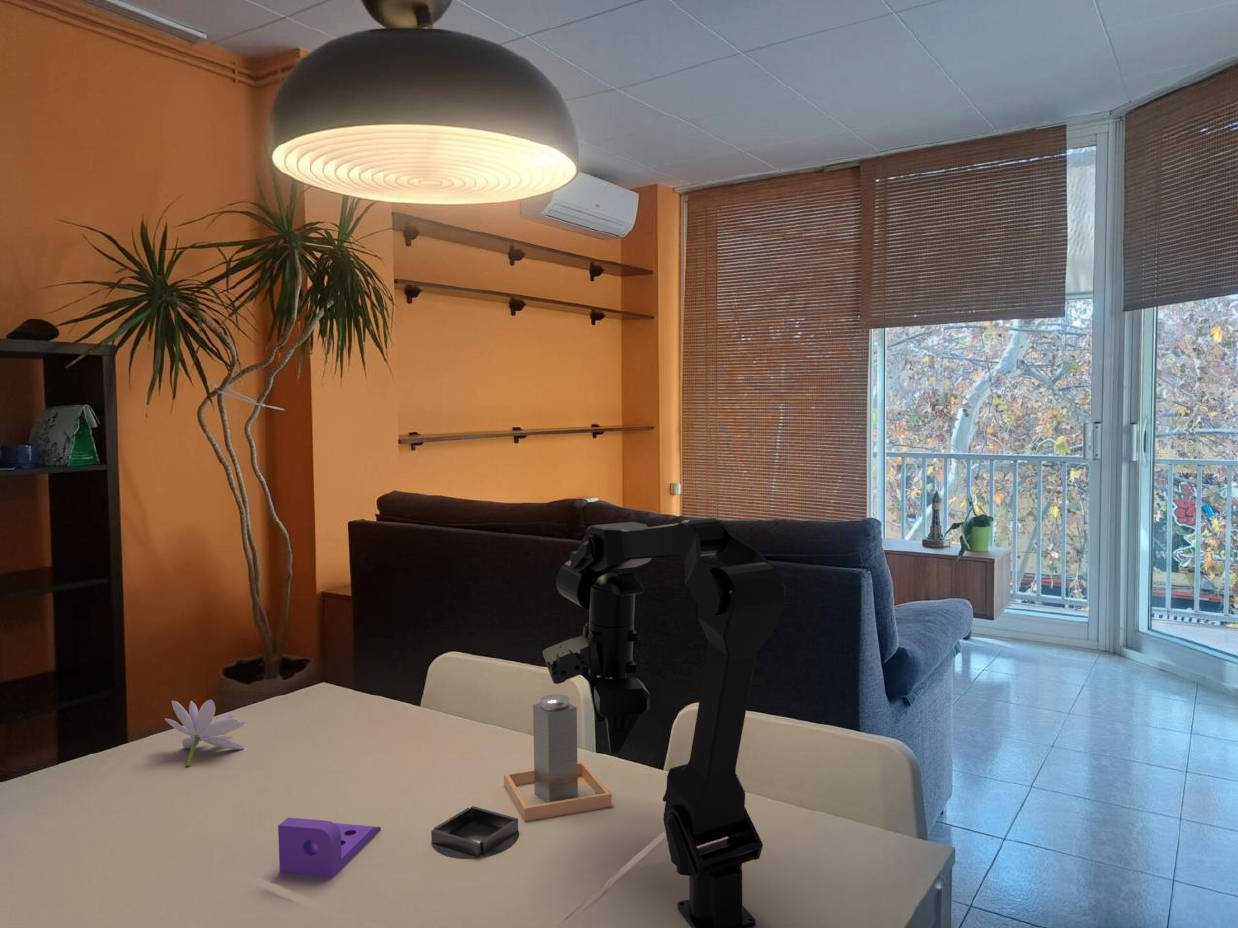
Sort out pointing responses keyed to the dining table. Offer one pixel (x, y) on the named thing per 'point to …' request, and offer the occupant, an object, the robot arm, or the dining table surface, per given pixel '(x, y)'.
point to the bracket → (320, 845)
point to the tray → (563, 806)
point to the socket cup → (475, 834)
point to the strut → (555, 749)
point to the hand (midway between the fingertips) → (607, 736)
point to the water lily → (204, 727)
